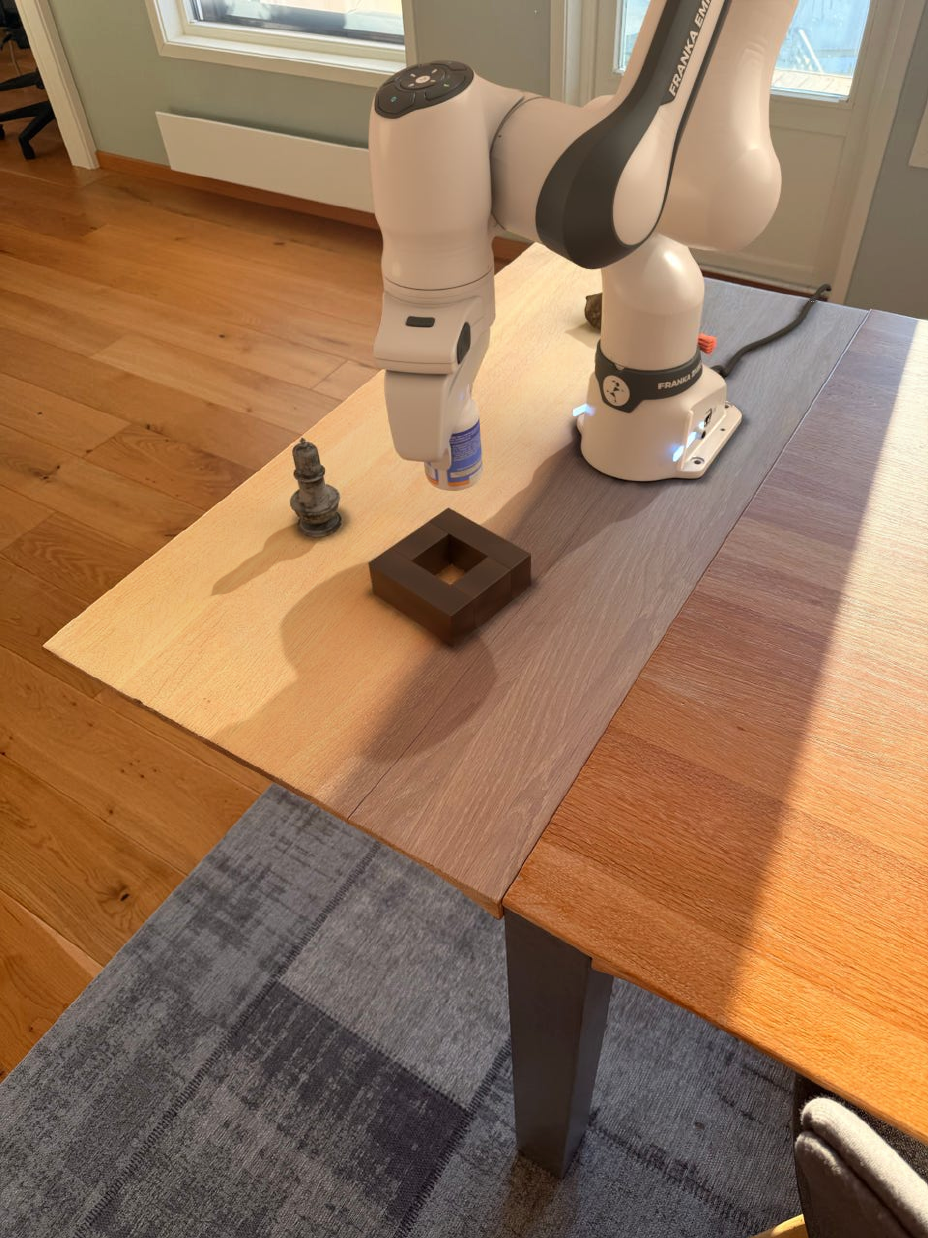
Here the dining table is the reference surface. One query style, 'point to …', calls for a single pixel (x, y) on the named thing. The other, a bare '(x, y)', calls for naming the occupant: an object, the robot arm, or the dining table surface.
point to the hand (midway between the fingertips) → (451, 443)
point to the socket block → (471, 598)
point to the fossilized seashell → (594, 310)
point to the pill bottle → (461, 452)
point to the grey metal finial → (313, 494)
